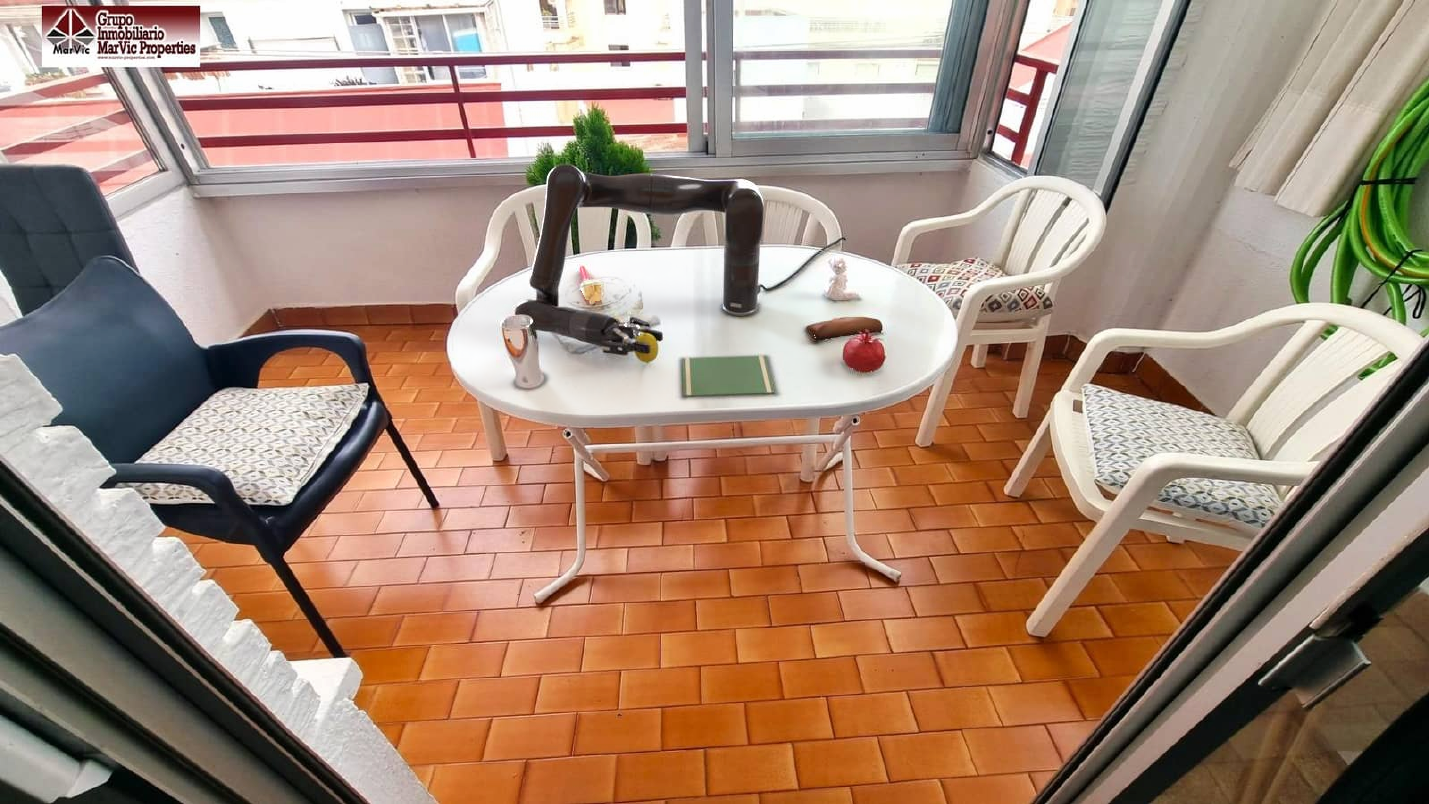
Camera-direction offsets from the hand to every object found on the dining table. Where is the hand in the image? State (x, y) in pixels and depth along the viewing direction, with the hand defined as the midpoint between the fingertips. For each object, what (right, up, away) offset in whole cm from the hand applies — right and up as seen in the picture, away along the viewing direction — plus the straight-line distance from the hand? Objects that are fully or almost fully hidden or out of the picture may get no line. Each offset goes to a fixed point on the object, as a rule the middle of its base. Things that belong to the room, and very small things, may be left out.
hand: (655, 343), depth 132 cm
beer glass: (-28, -9, -2) cm, 30 cm away
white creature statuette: (+48, +16, +33) cm, 61 cm away
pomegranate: (+48, -5, +4) cm, 49 cm away
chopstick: (-24, +20, +37) cm, 48 cm away
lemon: (-2, -4, +5) cm, 7 cm away
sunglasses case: (+46, +4, +16) cm, 49 cm away
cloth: (+16, -8, 0) cm, 18 cm away
